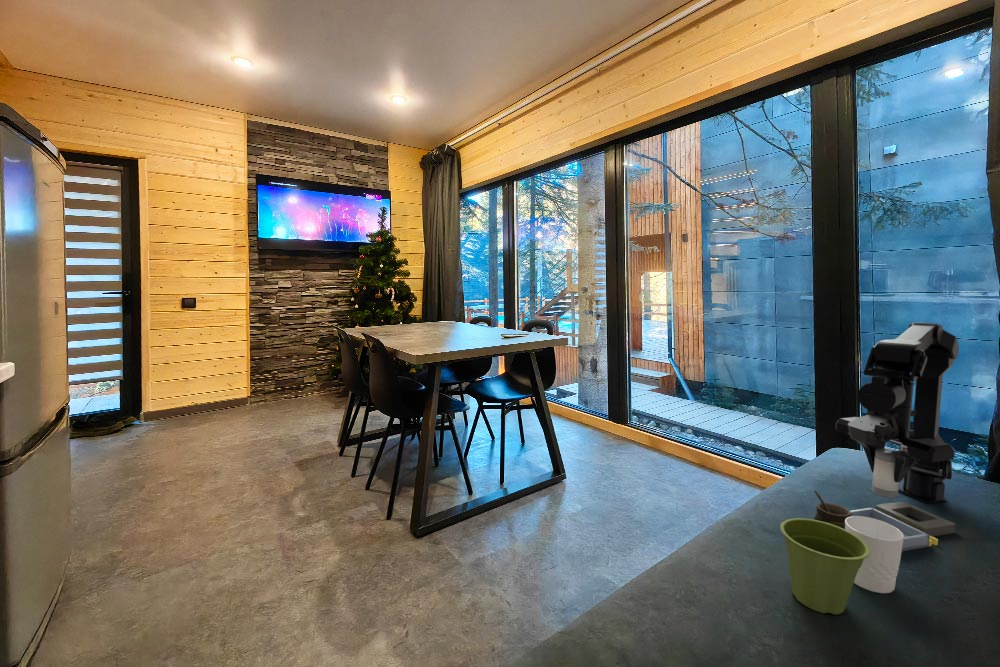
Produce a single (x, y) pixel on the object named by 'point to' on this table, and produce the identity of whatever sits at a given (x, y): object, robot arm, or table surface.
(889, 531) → the white cup
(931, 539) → the puller tool
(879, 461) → the cylinder
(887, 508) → the frame
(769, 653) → the table surface
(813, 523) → the plant pot
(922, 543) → the tray
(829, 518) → the mate gourd
